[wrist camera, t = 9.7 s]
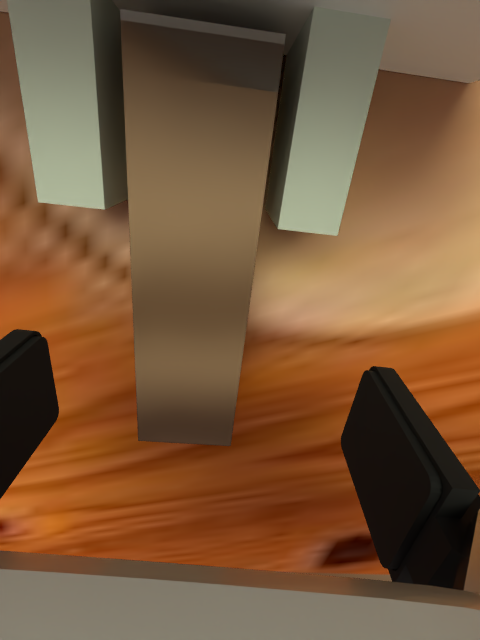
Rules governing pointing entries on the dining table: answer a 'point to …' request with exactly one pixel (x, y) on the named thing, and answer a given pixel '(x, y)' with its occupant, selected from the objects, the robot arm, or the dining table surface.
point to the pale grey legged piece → (295, 103)
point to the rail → (194, 212)
